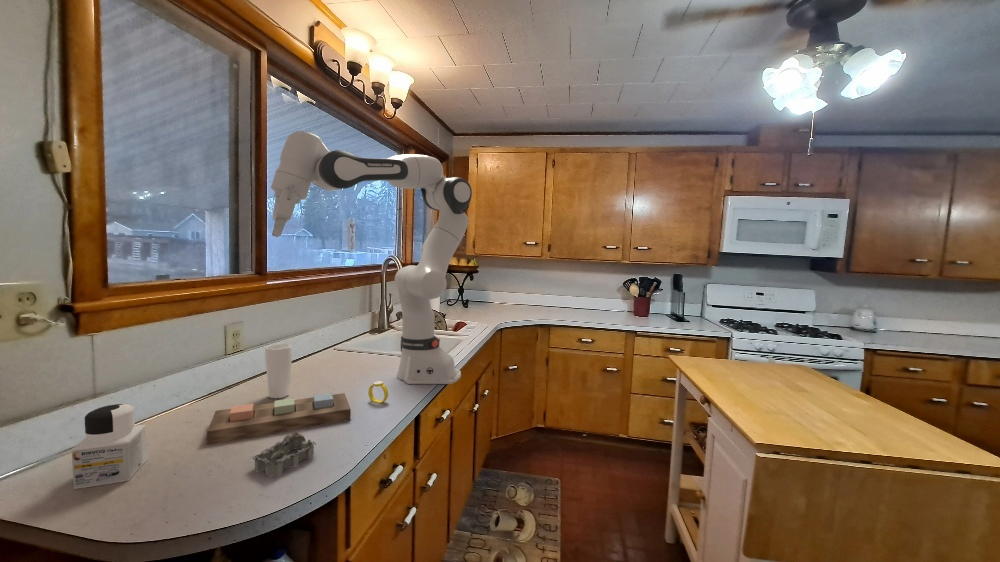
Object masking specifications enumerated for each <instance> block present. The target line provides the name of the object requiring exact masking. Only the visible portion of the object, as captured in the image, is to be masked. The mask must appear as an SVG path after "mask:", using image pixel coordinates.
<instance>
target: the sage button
mask: <svg viewBox="0 0 1000 562" xmlns="http://www.w3.org/2000/svg"><path fill="white" fill-rule="evenodd" d="M294 400H295V398H286V399H284V398H283V399H279V400H274V403H275V404H274V415H279V414H285V413H292V412H295V410H294Z"/></svg>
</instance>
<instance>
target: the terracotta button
mask: <svg viewBox="0 0 1000 562" xmlns="http://www.w3.org/2000/svg"><path fill="white" fill-rule="evenodd" d="M254 405H255V404H254V403H248V404H241V405H233V406H231V408H230V409H231V411H230V422H232V421H239V420H245V419H252V418H253V416H254Z"/></svg>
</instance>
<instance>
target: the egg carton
mask: <svg viewBox="0 0 1000 562" xmlns="http://www.w3.org/2000/svg"><path fill="white" fill-rule="evenodd" d="M316 445H317V443H316V442H315V441H311V439H308V440H307V441H306V438H305V436H304V435H303V434H301V433H299V430H296V431H294V432H291V433H289V434H287V436H286V435H285V437H283V440H281V441H278V442H276V443H275V444H274V445H272V446H270V447H268V448H266V449H265V450H262V451H261V452H260V453H258V454H256V455H254V456H251V458H250V459H252V460H253V461H254V471H255V472H257V473H258V472H260V471H264V472H265V473H264V475H265V476H266V477H270V476H279V475H282V474H283V473H284V471H283V470H284V469H286V468H292V467H293V468H295V467H296V466H299V461H302V460H306V459H307V460H310V459H312V458H313V457H314V452H315V450H314V449H315V447H314V446H316ZM291 450H297V452H296V453H291V454H289V453H290V451H291Z"/></svg>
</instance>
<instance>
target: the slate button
mask: <svg viewBox="0 0 1000 562" xmlns="http://www.w3.org/2000/svg"><path fill="white" fill-rule="evenodd" d="M332 395H333V394H332V393H331V392H329V393H322V394H314V395H313V397H314V409H318V408H325V407H332V406H333V396H332Z"/></svg>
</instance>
